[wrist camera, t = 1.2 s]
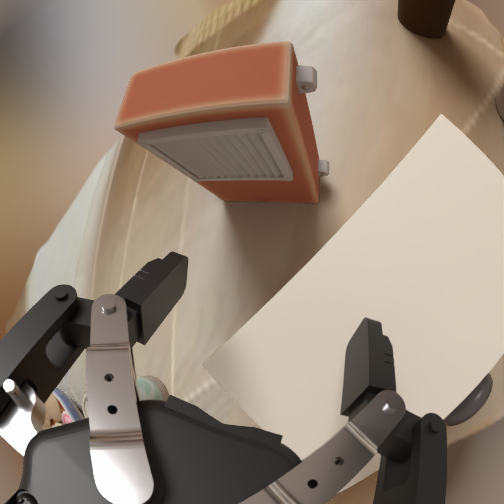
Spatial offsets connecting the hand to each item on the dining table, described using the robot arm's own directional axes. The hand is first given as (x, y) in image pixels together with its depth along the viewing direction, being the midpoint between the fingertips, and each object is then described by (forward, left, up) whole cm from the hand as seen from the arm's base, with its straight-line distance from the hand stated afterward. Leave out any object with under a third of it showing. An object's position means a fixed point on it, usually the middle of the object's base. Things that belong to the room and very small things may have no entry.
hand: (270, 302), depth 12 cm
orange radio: (-1, -14, -22) cm, 26 cm away
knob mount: (-6, +4, -22) cm, 23 cm away
